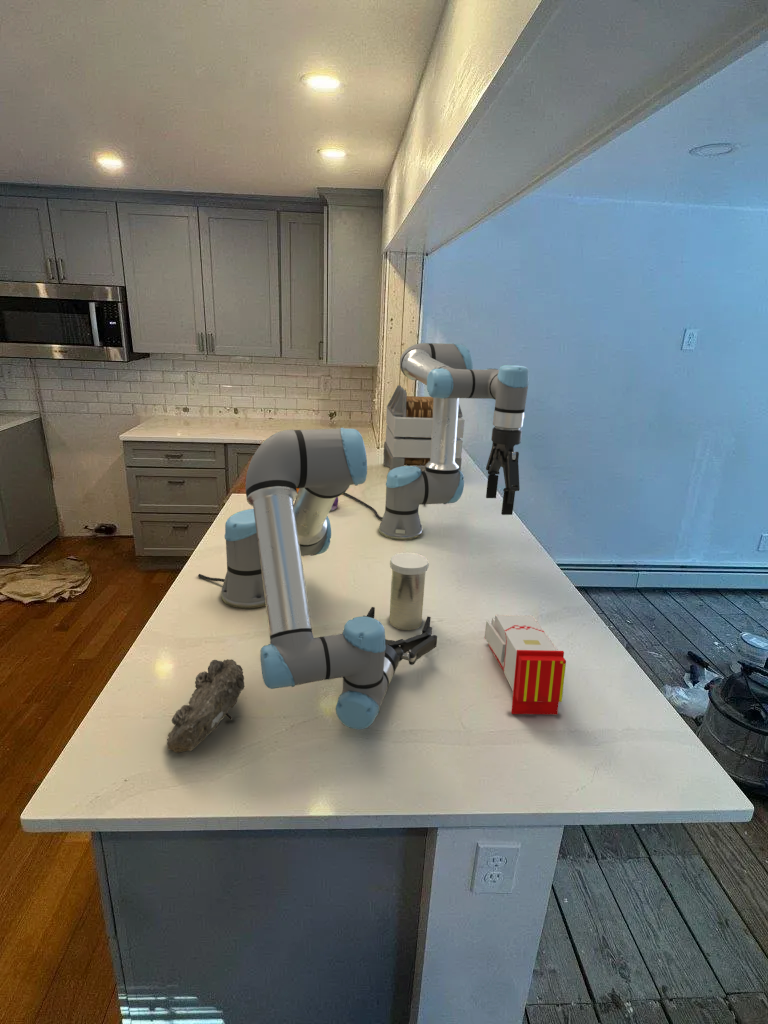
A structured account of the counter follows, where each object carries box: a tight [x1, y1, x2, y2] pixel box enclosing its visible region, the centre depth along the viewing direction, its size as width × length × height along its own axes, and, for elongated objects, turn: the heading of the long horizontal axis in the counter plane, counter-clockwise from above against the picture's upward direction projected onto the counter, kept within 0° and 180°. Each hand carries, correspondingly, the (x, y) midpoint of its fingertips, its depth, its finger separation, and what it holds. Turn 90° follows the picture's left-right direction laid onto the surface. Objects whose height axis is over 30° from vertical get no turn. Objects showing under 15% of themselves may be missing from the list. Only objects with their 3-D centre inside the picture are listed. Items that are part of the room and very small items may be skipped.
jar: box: [388, 569, 426, 631], centre depth 141 cm, size 8×8×17 cm
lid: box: [389, 551, 430, 575], centre depth 138 cm, size 9×9×2 cm
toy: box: [484, 614, 567, 716], centre depth 124 cm, size 12×13×30 cm
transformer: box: [383, 384, 465, 472], centre depth 268 cm, size 34×33×41 cm
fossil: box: [166, 658, 245, 754], centre depth 106 cm, size 22×10×15 cm
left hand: (400, 616), depth 135 cm, fingers open, 13 cm apart
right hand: (498, 505), depth 153 cm, fingers open, 13 cm apart
